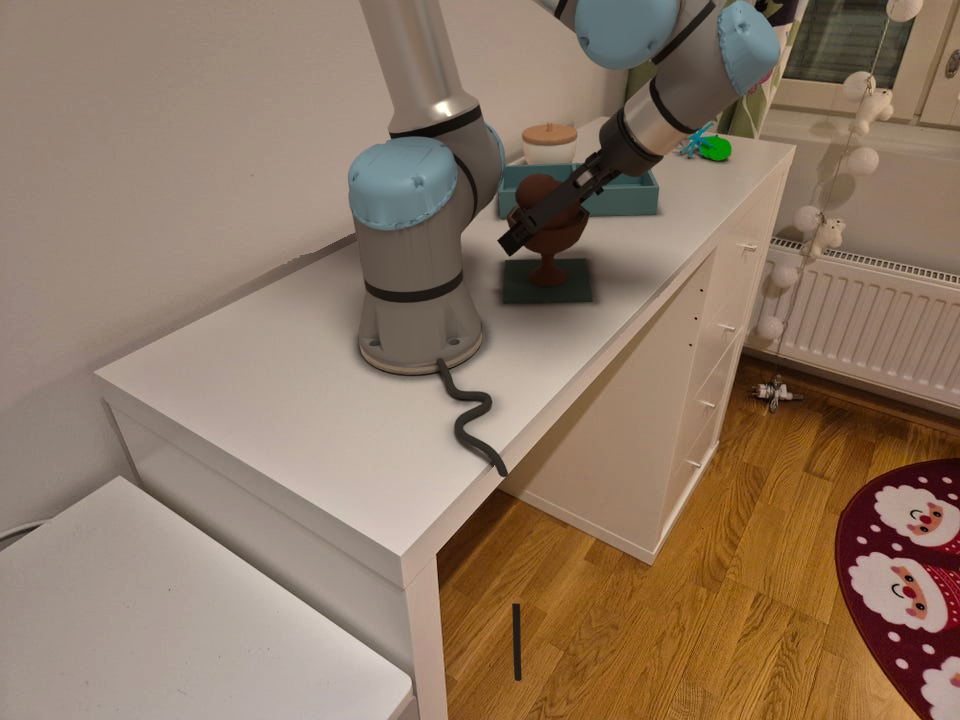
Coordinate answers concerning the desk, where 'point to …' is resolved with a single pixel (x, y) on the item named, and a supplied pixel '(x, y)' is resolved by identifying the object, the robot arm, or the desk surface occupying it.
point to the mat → (526, 292)
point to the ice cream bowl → (548, 228)
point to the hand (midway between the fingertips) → (531, 229)
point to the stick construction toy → (709, 145)
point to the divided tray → (615, 200)
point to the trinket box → (549, 144)
